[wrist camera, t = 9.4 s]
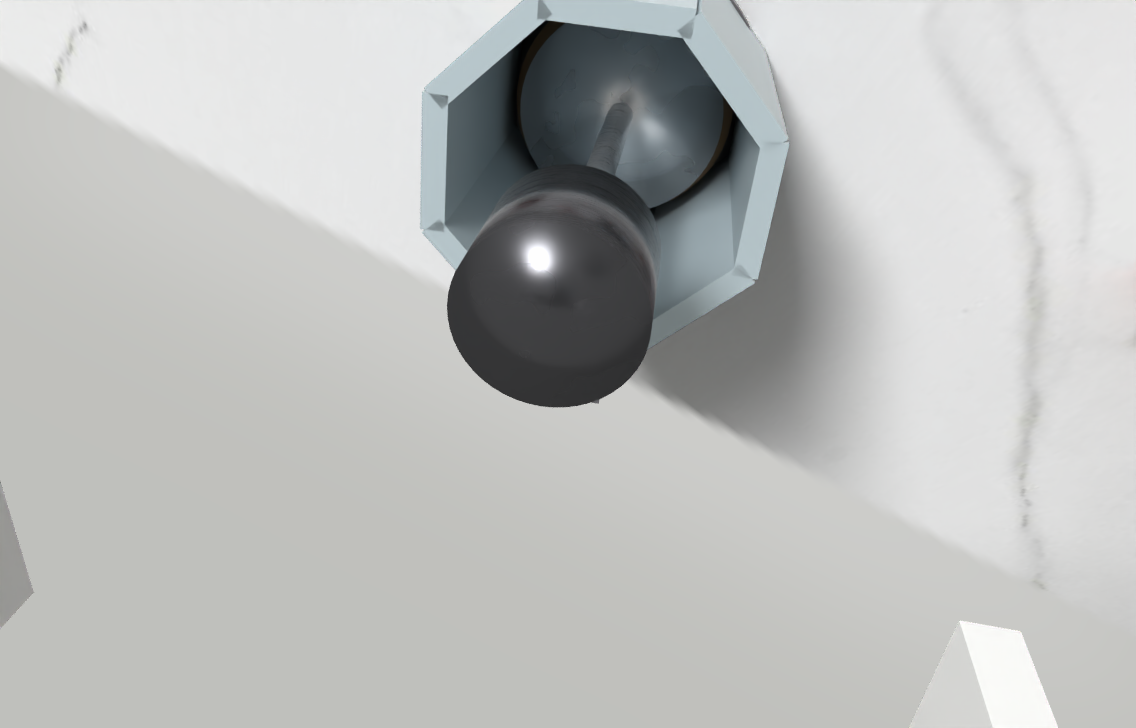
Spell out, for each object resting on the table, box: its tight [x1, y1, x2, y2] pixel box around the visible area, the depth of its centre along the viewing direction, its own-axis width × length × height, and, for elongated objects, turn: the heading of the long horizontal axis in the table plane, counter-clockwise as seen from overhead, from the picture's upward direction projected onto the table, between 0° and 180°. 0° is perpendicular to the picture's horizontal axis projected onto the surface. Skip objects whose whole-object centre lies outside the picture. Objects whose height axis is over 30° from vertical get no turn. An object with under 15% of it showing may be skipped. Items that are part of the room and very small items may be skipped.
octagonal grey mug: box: [420, 0, 790, 403], centre depth 33 cm, size 14×11×13 cm
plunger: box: [447, 23, 723, 407], centre depth 27 cm, size 8×8×18 cm
